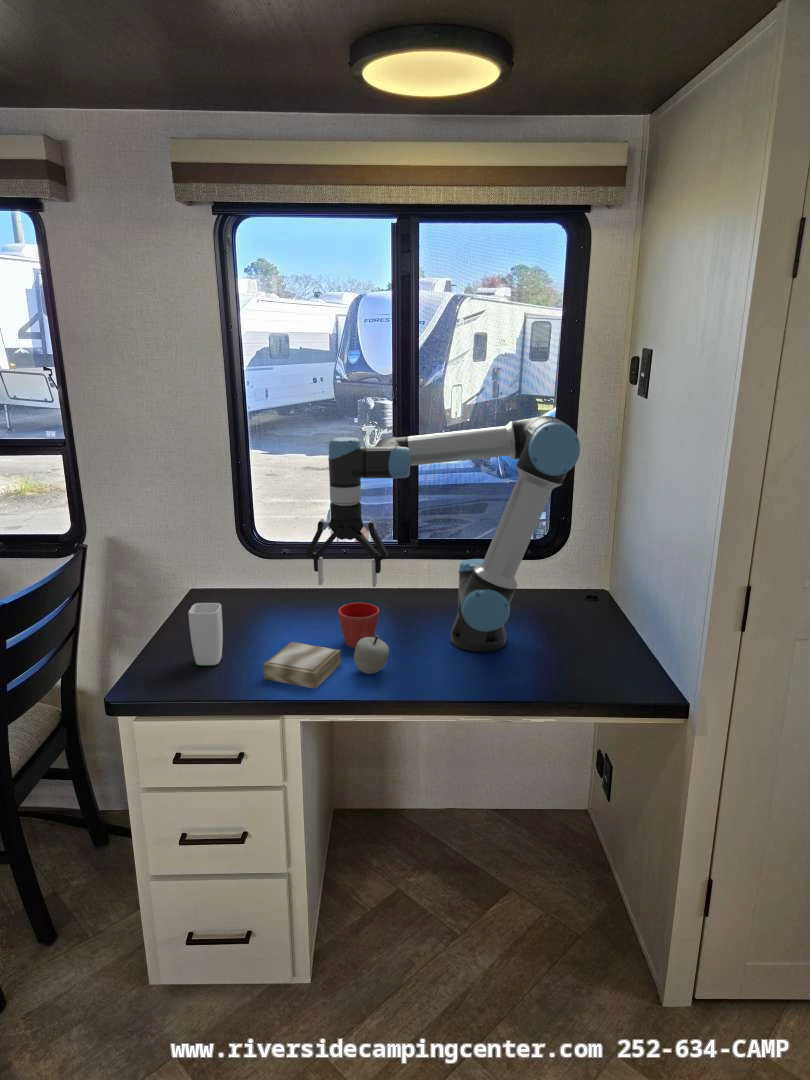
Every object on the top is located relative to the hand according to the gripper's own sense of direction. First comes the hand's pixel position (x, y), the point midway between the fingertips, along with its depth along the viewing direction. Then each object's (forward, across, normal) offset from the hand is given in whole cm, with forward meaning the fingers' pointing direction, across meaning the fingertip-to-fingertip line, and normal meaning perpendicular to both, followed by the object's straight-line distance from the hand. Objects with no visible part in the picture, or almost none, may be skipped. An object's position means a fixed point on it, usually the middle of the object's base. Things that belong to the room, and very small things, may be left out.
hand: (347, 584), depth 184 cm
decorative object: (+21, -7, +6) cm, 23 cm away
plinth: (+21, +10, +8) cm, 24 cm away
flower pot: (+21, -1, -11) cm, 24 cm away
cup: (+21, +36, +5) cm, 41 cm away
